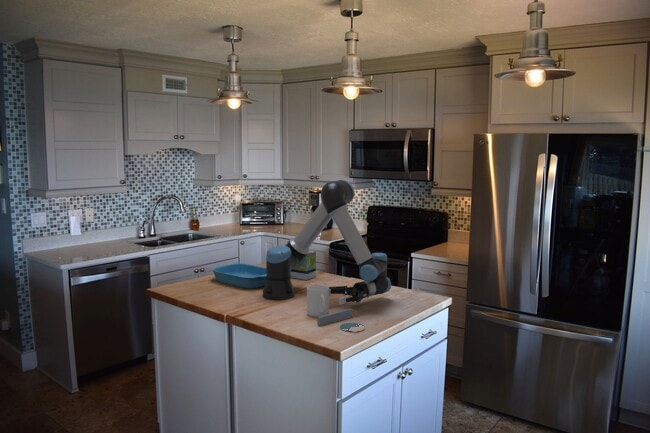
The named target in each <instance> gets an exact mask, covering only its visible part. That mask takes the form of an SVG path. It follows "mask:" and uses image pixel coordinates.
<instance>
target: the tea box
mask: <svg viewBox="0 0 650 433" xmlns="http://www.w3.org/2000/svg"><path fill="white" fill-rule="evenodd" d="M316 254H317V251H315V250H309V253H308V255H307V257H306V260H305V262H304V263H303V264H302V265H301V266H299V267H296V268H294V269H292V270H291V278H292V279H298V280H303V281H304V280H305V281H307V280H311V279H313V278H316V276H317V269H316V268H317V255H316Z"/></svg>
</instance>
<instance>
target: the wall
mask: <svg viewBox="0 0 650 433" xmlns="http://www.w3.org/2000/svg"><path fill="white" fill-rule="evenodd" d="M353 311H354V310H353V309H352V308H345V309H343V310H338V311H334V312H331V313H328V314H326V315H322V316H319V317H316V318H317V321H316V322H317V323H316V324H317V326H318V325H319V327H321V325H322V326H326V325H330V324H333V323H336V322H337V323H338V322H341V321H344V320H347V318H348V319H351V317H352V318H353ZM340 320H341V321H340ZM332 322H333V323H332ZM329 323H330V324H329ZM325 324H326V325H325Z"/></svg>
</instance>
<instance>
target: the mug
mask: <svg viewBox="0 0 650 433" xmlns="http://www.w3.org/2000/svg"><path fill="white" fill-rule="evenodd" d="M329 287H330V286H327V285H323V284H312V285H307V287H306V314H307V315H308V316H309V317H312V316H313V317H312V318H317V317H319V316H322V315H326V314H329V298H330V297H329Z"/></svg>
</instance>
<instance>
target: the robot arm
mask: <svg viewBox="0 0 650 433" xmlns="http://www.w3.org/2000/svg"><path fill="white" fill-rule="evenodd" d="M354 197H355V188H354V187H353V185H352V184H351V182H349V181H347V180H346V179H345V180H344V179H339V180H338V179H337V180H333V181H329V182H327V183H325V184H324V185H323V186H322V188H321V190H320V200H321V202H320V203H319V205H318V206H317V207H316V209H315V210H314V212H313V213H312V215H310V217H309V218H308V220H307V221H306V222H305V224H304V225H303V226H302V227H301V229H300V230H299V232H298V233H297V234H296V236H295V237H293V238H292V237H291V238H290V239H289V240H288V241H287V243H286V244H285V245H276V246H272V247H270V248H268V249H267V250H266V255H265V256H266V257H265V260H266V262H265V263H266V267H265V268H266V283H265V285H264V287H263V290H262V297H263V298H264V299H268V300H275V301H276V300H277V301H278V300H279V301H280V300H288V299H289V300H290V299H292V298H293V297H294V296H295V289H294V286H293V284H292V280H291V270H292V269H294V268H296V267H299V266H301V265H302V264H303V263H304V262H305V260H306V257H307V255H308V253H309V251H310V250H309V248H310V247H311V246H312V245H313V243H314V242H315V241H316V240H317V238H318V237H319V236H320V234H321V233H322V232H323V230H324V229H325V227H326V226H327V225H328V223H329V222H330V221H331V220H332V219H333V221H334V223H335V225H336V226H337V227H336V228H338V230H339V232H340V234H341V236H342V238H343V239H344V242H345V244H346V246H347V248H348V249H349V250H350V252H351V255H352V256H353V259H354V260H355V262H356V265H357V266H358V268H359V276H360V278H361V280H362V281H358V282H355V283H354V284H353V286H348V285H341V286H340V285H339V286H338V285H337V286H328V287H329V296H331V295H343V296H342V297H339V298H338V305H340V306H341V305H344V304H348V303H351V302H352V303H356V304H358V303H360V302H361V301H362V300H364V299H366V298H367V299H368V298H369V297H373V296H377V295H382V294H385V293H387V292H389V291H391V288H392V282H391V279H390V278H389V277H388V276H387V273H388V272H387V271H388V255H387V254H386V253H383V252H372V253H371V251H370V249H369V247H368V246H367V244H366V242H365V241H364V238H363V236H362V235H361V233H360V231H359V229H358V227H357V226H356V224H355V222H354V220H353V218H352V216H351V214H350V212H349V211H348V208H347V207H348V205H347V204H350V203H351V202H352V201H353V200H354Z"/></svg>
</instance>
